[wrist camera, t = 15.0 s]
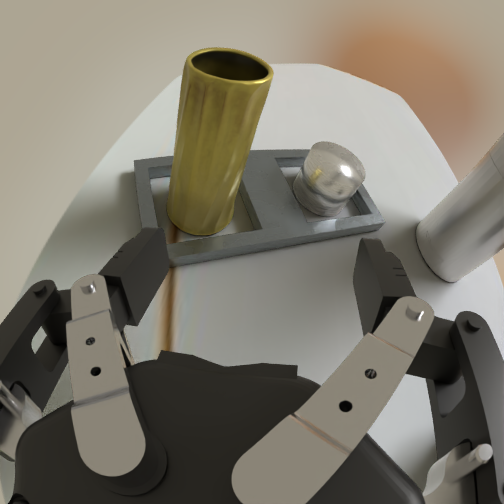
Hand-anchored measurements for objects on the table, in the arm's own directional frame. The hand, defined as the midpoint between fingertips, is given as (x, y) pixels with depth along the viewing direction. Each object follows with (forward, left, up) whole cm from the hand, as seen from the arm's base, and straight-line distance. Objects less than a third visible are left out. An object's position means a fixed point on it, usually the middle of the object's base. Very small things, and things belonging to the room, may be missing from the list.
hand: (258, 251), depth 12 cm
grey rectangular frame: (-8, -11, -12) cm, 18 cm away
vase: (-2, -11, -12) cm, 16 cm away
